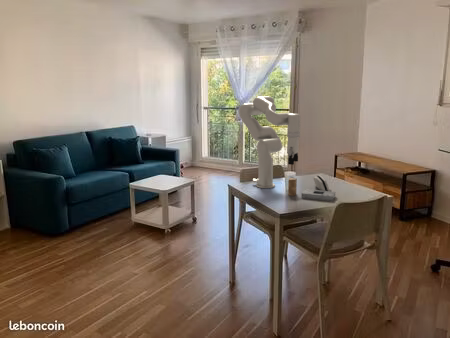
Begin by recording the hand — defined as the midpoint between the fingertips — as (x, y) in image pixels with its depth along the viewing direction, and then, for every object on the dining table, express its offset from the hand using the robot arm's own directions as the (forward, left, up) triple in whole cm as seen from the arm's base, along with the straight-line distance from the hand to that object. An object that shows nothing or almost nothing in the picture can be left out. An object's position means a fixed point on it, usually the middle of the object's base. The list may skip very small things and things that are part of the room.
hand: (293, 162), depth 225 cm
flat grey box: (+16, 0, -20) cm, 26 cm away
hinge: (+14, +19, -20) cm, 31 cm away
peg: (0, 0, -20) cm, 20 cm away
